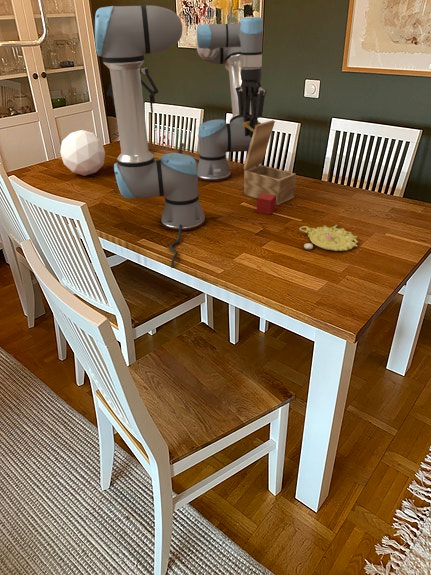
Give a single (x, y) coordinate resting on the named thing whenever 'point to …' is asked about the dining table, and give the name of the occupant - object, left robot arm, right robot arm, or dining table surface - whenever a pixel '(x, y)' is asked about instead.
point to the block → (266, 203)
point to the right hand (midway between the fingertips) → (250, 135)
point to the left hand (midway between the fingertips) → (135, 113)
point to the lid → (258, 143)
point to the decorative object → (330, 238)
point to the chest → (269, 183)
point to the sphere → (82, 152)
